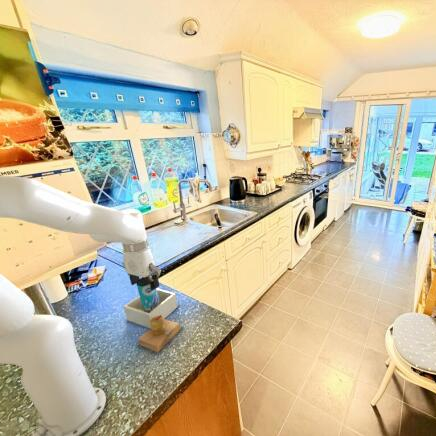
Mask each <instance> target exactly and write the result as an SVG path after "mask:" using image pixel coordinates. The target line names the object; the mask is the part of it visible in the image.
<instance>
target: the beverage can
mask: <svg viewBox="0 0 436 436" xmlns="http://www.w3.org/2000/svg"><path fill="white" fill-rule="evenodd" d="M153 276H154V275H153ZM153 276H152V275H151V277H153ZM139 278H140V279H139V280H138V281H137V282H136V284H135V285H136V287H137V288H136V289H137V292H138V296H139V295H140V299H141V302H142V306H143V309H144V312H147V313H150V312H151V311H152V310H154V309H155V308H156V307H157V306H158V305H160V300H159V295H158V291H157V288H158V287H157V288H156V289H155V290H153V291H152V290H151V287H150V283H149V281H150V279H149V278H148V277H139Z"/></svg>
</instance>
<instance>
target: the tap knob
mask: <svg viewBox="0 0 436 436" xmlns="http://www.w3.org/2000/svg"><path fill="white" fill-rule="evenodd" d="M150 325H151V329H152V332H153V335H156V336H157V335H160V334H162V333H164V331H165V329H166V328H165V324H164V320H163V317H162V316H161V315H160V316H156V317H153V318H152V319H151V320H150Z"/></svg>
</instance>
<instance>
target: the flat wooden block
mask: <svg viewBox="0 0 436 436" xmlns="http://www.w3.org/2000/svg"><path fill="white" fill-rule="evenodd" d="M163 320H164V324H165V328H166V329H165V331H164V333H162V334H160V335H157V336H156V335H153V332H152V329H151V327H150V328H148V330H146V332H144V333H143V334H142V335H141V336H140V337H138V339H137V340H138V344H139V346H140V347H143V348H144V349H145V348H146V349H148V350H151V351H153V352H156V353H159V352H160V351H161V350H162V349H163V348H164V347H165V346H166V345H167V344H168V343H169V342H170V341H171V340H172V339H173V338H174V337H175V336H176V335H177V334H178V333H179V332H180V331H181V327H180V323H179V322H176V321H172V320H169V319H166V318H165V319H163Z"/></svg>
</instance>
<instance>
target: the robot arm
mask: <svg viewBox="0 0 436 436" xmlns="http://www.w3.org/2000/svg"><path fill="white" fill-rule="evenodd" d="M1 218H5V219H7V218H8V219H14V220H18V221H23V222H27V223H31V224H35V225H38V226H42V227H46V228H50V229H52V230H57V231H61V232H65V233H71V234H80V235H89V237H90V238H91V239H92V240H93V241H95V242H98V243H121V246H122V260H123V262H122V266H123V267H124V271H125V272H126V274H127V276H128V277H129V281H130V285H132V286H134V285H137V284H136V282H137V281H138V280H139V279H140V278H143V277H148V278H149V279H150V281H149V283H150V287H151V290H152V291H153V290H155V289H156V288H159V287H160V282H159V278H160V276H161V273H162V270H161V269H160V268H158V267H157V266H156V263H155V259H154V256H153V253H152V250H151V249H150V246H149V239H148V236H147V235H148V234H147V231H146V227H145V221H144V218H143V214H142V212H141V211H140V210H138V209H126V210H119V209H115V208H111V207H106V206H103V205H101V204H96V203H93V202H88V201H86V200H85V201H84V200H82V199H80V198H77V197H74V196H72V195H70V194H68V193H65V192H63V191H61V190H59V189H57V188H53V187H52V186H49V185H48V184H45V183H43V182H40V181H37V180H35V179H32V178H28V177H23V176H8V175H7V176H5V175H3V176H2V175H0V219H1ZM152 275H153V277H151V276H152ZM0 364H2V365H15V366H18V367H20V368H21V369H22V373H21V375H20V383H21V387H22V388H23V390H24V392H25V393H26V395H27V396H28V398H29V400H30V401H31V403H32V405H33V406H34V407H35V409H36V411H37V412H38V414H39V415H40V417H41V419H40V420H39V421H38V424H39V426H37V428H36V429H35V432H34V433H33V434H31V436H81V435H82V434H83V433H85V432H86V431H87V430H89V428H91V427H92V426H93V424H95V422H96V421H97V420H98V419H99V417H100V416H101V414H102V413H103V411H104V409H105V407H106V404H107V403H106V402H107V395H106V393H105V390H103V389H102V388H100V387H93V383H92V382H91V380H90V377H89V375H88V373H87V371H86V368H85V366H84V364H83V362H82V359H81V357H80V355H79V352H78V351H77V347H76V342H75V335H74V327H73V324H72V323H71V321H69V320H68V318H66V317H63V316H59V315H54V314H35V305H34V302H33V300H32V299H31V298H30V296H28V295H27V293H25V292H24V291H22V290H21V289H20V288H18V287H17V286H16V285H15V283H14V284H13V283H12V282H11V281H10V280H9V279H8V278H6V277H5V276H4V275H3V274H1V273H0Z"/></svg>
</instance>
